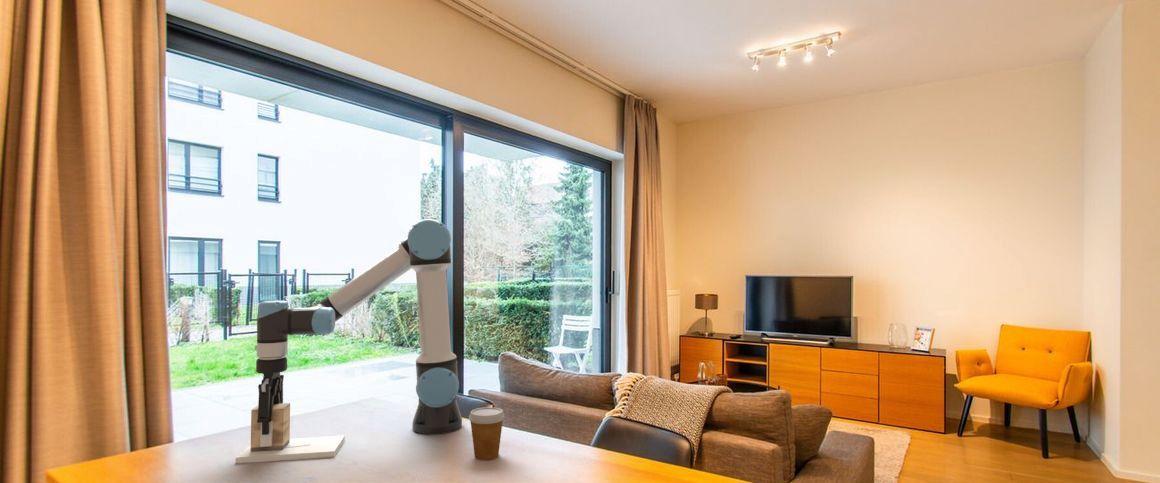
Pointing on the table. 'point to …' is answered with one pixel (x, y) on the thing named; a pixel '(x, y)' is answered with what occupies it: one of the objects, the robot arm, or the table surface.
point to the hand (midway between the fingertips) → (270, 441)
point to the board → (296, 450)
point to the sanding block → (279, 428)
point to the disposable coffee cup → (486, 432)
